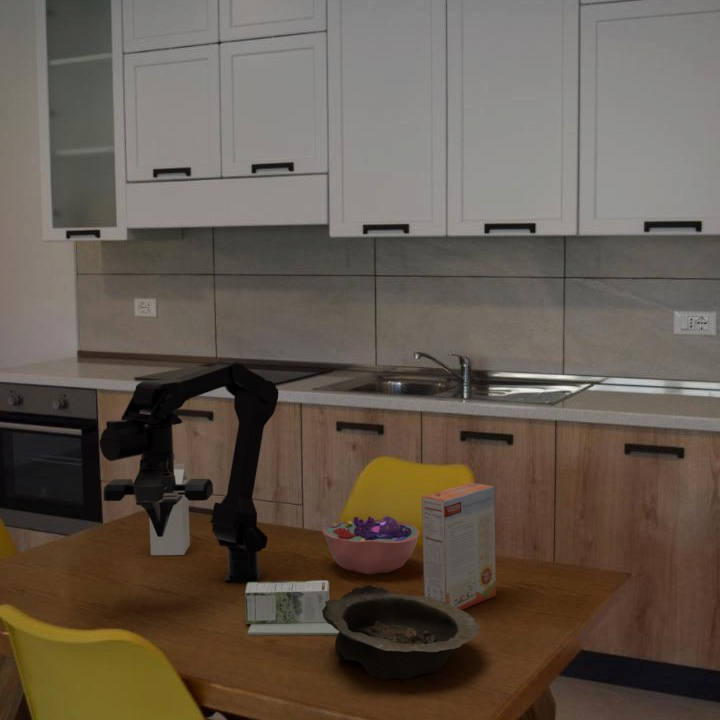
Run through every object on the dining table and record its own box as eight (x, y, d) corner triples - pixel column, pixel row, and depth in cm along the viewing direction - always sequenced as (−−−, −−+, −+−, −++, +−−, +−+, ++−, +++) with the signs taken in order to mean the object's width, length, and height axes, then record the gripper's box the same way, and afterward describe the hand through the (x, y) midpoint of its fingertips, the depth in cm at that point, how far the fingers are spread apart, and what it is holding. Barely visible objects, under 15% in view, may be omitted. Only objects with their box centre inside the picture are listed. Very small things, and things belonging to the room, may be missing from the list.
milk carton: (184, 555, 220) (180, 467, 218) (150, 556, 220) (147, 468, 218) (190, 546, 227) (186, 460, 225) (157, 546, 227) (154, 461, 225)
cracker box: (471, 590, 195) (470, 480, 192) (497, 597, 190) (496, 485, 188) (421, 609, 185) (420, 494, 183) (447, 617, 181) (446, 499, 178)
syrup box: (247, 613, 183) (329, 610, 184) (245, 625, 177) (330, 622, 178) (246, 581, 183) (329, 579, 183) (244, 592, 177) (329, 590, 177)
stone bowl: (292, 649, 167) (294, 593, 166) (422, 631, 179) (424, 578, 178) (368, 704, 145) (371, 640, 145) (510, 679, 158) (513, 619, 157)
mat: (259, 609, 186) (258, 607, 186) (348, 610, 185) (347, 608, 185) (247, 634, 174) (247, 632, 174) (342, 635, 173) (342, 632, 173)
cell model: (345, 553, 220) (344, 501, 218) (433, 564, 211) (433, 510, 210) (307, 576, 204) (306, 520, 203) (400, 589, 196) (399, 531, 194)
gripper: (91, 461, 178) (96, 549, 180) (199, 460, 177) (202, 549, 179) (110, 448, 190) (114, 531, 191) (212, 447, 188) (215, 531, 190)
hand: (160, 536), depth 188 cm, fingers closed
